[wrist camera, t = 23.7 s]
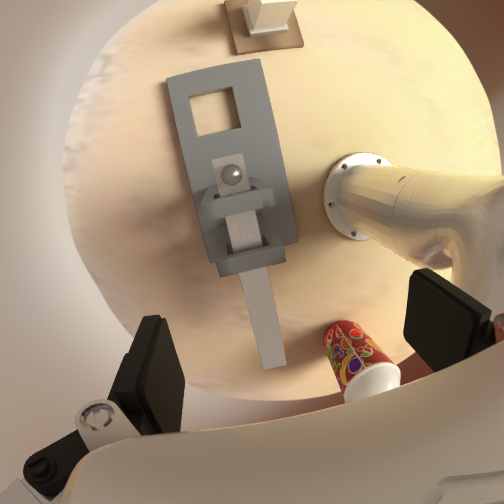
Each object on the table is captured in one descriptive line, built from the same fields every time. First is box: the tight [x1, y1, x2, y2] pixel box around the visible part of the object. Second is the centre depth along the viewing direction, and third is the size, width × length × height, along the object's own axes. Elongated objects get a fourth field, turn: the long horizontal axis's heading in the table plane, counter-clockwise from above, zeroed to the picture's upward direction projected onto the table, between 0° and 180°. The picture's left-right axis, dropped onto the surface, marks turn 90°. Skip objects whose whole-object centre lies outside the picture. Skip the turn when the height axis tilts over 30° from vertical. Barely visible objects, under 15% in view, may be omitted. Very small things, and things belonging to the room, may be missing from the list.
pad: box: [224, 0, 304, 55], centre depth 32 cm, size 9×9×1 cm
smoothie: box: [324, 321, 400, 403], centre depth 38 cm, size 8×8×20 cm
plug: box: [242, 0, 298, 37], centre depth 26 cm, size 5×5×10 cm
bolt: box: [212, 153, 287, 370], centre depth 28 cm, size 3×22×5 cm, turn 12°
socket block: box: [166, 59, 298, 277], centre depth 30 cm, size 12×25×15 cm, turn 12°
